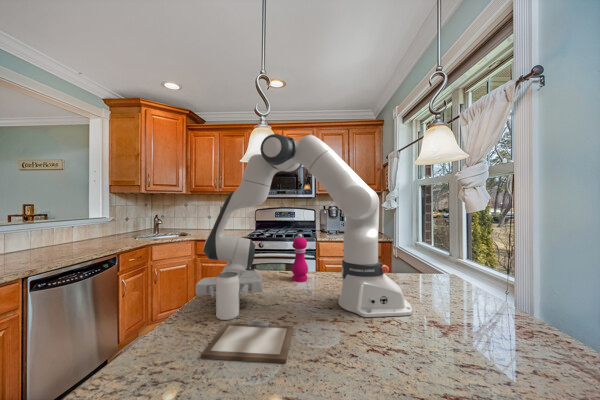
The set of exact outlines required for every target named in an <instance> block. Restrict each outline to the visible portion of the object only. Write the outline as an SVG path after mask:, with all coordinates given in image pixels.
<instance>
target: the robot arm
mask: <svg viewBox="0 0 600 400" xmlns="http://www.w3.org/2000/svg"><path fill="white" fill-rule="evenodd" d="M259 148H260V153H261V154H260V153H257V154H253V155H252V156H250V157H249V159H248V161H247V163H246V166H245V169H244V170H243V174H242V178H241V182H240V184H239V186H238V187H237V188H236V190H234V191H231V192H229V194H228V195H227V196H226V199H225V201H224V203H223V205H222V207H221V209H220V211H219V213H218V215H217V218H216V220H215V223H214V224H213V227H212V229H211V230H210V233H209V234H208V236H207V238H206V239H205V240H204V241H205V242H204V244H203V253H204V255H205V256H206V258H207V259H208V260H210V261H211V260H212V261H222V262H227V263H226V264H225V265H224V267H223V268H222V271H221V272H220V273H224V272H236V273H238V277H239V297H242V296H243V297H244V296H245V294H248V293H252V294H253V293H261V292H263V286H264V285H263V284H264V281H263V278H262V275H261V274H260V273H259V270H258V269H256V268H255V269H254V268H251V267H252V266H253V263H254V259H255V253H256V246H255V244H254V241H253V240H252V239H249V238H246V237H242V236H241V237H240V236H234V235H230V234H226V233H225V232H224V231H225V229H226V226H227V225H228V222H229V220H230V217H231V215H232V214H233V212H235V211H237V210H240V209H245V208H251V207H257V206H261V205H262V204H263V203H264V202H265V201H266V200H267V199H268V196H269V193H270V190H271V185H272V182H273V178H274V177H275V175H276V174H279V175H282V174H284V175H285V174H291V173H296V172H298V171H299V170H300V169H301V168H302V166H303V167H304V168H305V169H306V170H307V171H308V172H309V173H310V174H311V175H312V176H313V178H314V179H315V180H316V181H317V182H318V183H319V184H320V185H321V186H322V187H323V189H325V191H326V192H327V194H328V195H329V196H330V197H331V199H332V200H333V202H334V203H335V204H336V206H337V207H338V208H339V209H340V210H341V212H342V213H343V214H344V215H345V226H344V232H343V247H342V248H343V250H342V254H343V259H342V261H341V278H342V284H341V291H340V293H339V294H340V295H339V298H338V302H337V303H338V305H339V306H340V307H341V308H342V309H344V310H346V311H348V312H350V313H355V314H357V315H359V316H360V317H364V318H376V317H380V318H381V317H394V316H395V317H399V316H411V315H412V314H413V308H412V305H411V304H410V303H409V301H407V300H406V299H405V297H404V293H403V290H402V289H401V287H400V286H399V285H398V284H397V283H396V282H395V281H394V280H393V279H391V278H390V277H389V276H387V275H386V273H389V271H390V268H389V266H388V265H386V264H384V263H382V262H381V261H379V226H380V225H379V224H380V223H379V222H380V199H379V195H378V194H377V192H376V191H375V190H374V189H372V188H371V187H370V186H369V185H368V184H367V183H365V182H364V181H363V180H362V178H361V177H360V176H359V175H358V174H357V173H356V172H355V171H354V170H353V169H352V168H351V167H350V166H349V165H348V164H347V163H346V161H344V160H343V159H342V158H341V157H340V156H339V154H337V153H336V152H335V151H334V149H332V148H331V147H330V146H329V145H327V143H325V142H324V141H323V140H322V139H320V138H319V137H317V136H315V135H313V134H308V135H304V136H303V137H302V138H300V139H299V140H298V141H296V140H295V139H294V137H290V136H285V135H282V134H276V133H273V134H268V135H267V136H265V138H264V139H263V140H262V141H261V145H260V147H259ZM217 278H218V276H212V277H202V278H201V279H200V280H198V282H196V284H195V295H196V296H210V297H211V298H216V281H217Z"/></svg>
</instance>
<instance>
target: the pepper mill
mask: <svg viewBox="0 0 600 400" xmlns="http://www.w3.org/2000/svg"><path fill="white" fill-rule="evenodd" d="M292 245H293V247H294V249H293V250H294V255H295V257H294V258H295V259H294V261H293V264H292V266H291V272H292V274H293V275H292V281H293V282H297V283H304V282H307V280H308V273H309V266H308V264H307V260H306V256H305V254H306V247H307V245H308V241H307V239H306V238H305V237H303V235H302V233H298V235H297V237H296V238H294V240H293V242H292Z"/></svg>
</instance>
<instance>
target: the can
mask: <svg viewBox="0 0 600 400" xmlns="http://www.w3.org/2000/svg"><path fill="white" fill-rule="evenodd" d="M217 277H218V278H217V281H216V297H215V301H216V302H215V312H216V313H215V314H216V315H215V316H216V318H217V319H218V320H220V321H231V320H234V319H236V318H237V317H238V316H239V315H240V296H239V277H238V273H236V272H224V273H221V272H220V273H218V274H217Z"/></svg>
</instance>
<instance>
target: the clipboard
mask: <svg viewBox="0 0 600 400" xmlns="http://www.w3.org/2000/svg"><path fill="white" fill-rule="evenodd" d="M293 332H294V326H293V325H277V324H274V325H273V324H270V321H255V320H250V321H249V323H236V322H235V323H233V322H231V323H230V322H226V323H225V324H224V325H223V327H222V328H221V329H220V330H219V332H218V333H217V334H216V335H215V336H214V338H213V339H212V340H211V341H210V343H209V344H208V345H207V346H206V348H205V349H204V350H203V351H202V353H201V355H200V358H201V359H209V360H225V361H227V360H228V361H241V362H242V361H246V362H261V363H278V364H286V363H287V358H288V354H289V351H290V346H291V341H292V336H293Z"/></svg>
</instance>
